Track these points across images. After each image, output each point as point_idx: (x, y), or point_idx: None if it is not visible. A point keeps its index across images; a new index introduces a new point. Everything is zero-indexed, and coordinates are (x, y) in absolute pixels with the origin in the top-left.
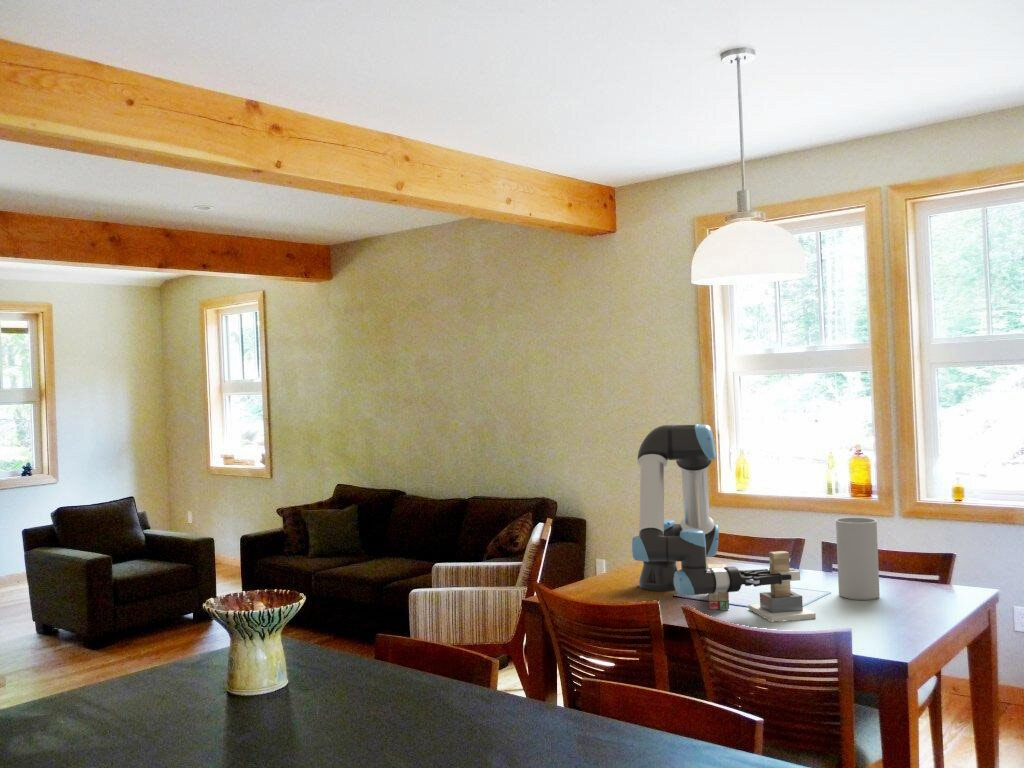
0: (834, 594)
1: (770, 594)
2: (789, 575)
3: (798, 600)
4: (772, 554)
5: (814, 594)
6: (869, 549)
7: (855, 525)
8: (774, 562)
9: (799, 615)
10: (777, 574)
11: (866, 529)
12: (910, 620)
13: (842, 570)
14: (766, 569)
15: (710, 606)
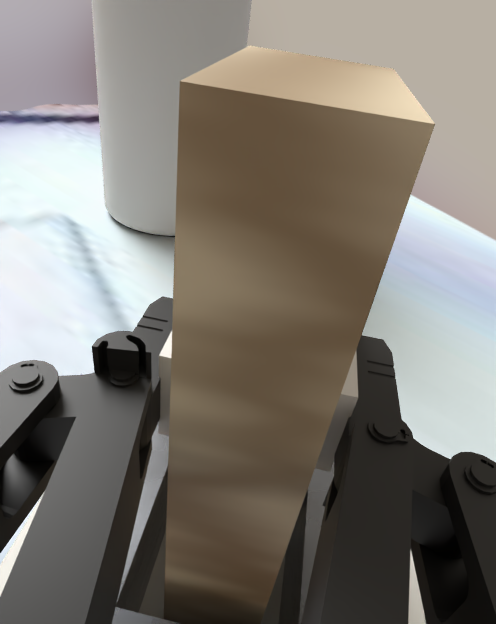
0: (98, 226)
1: (133, 562)
2: (391, 360)
3: None
4: (352, 148)
5: (42, 251)
6: (247, 37)
7: None
8: (365, 309)
9: (415, 574)
10: (409, 468)
11: None
12: (478, 283)
13: (159, 137)
14: (41, 379)
15: None
